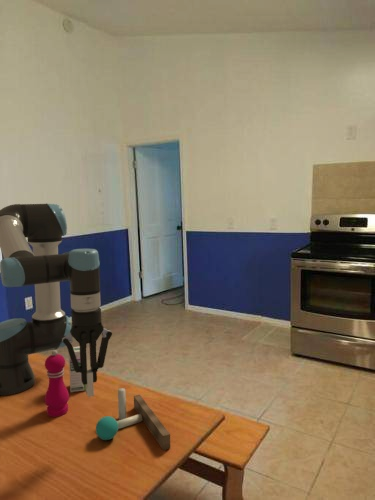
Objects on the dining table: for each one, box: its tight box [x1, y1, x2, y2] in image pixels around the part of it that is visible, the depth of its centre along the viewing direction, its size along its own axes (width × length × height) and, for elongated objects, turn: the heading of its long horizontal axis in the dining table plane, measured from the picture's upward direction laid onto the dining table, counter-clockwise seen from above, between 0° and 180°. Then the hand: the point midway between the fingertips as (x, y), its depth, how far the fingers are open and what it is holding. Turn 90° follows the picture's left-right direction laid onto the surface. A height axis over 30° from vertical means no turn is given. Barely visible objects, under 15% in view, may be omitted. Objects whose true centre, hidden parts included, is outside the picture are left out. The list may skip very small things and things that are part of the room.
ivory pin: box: [116, 413, 143, 430], centre depth 113 cm, size 2×2×9 cm
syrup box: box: [68, 345, 86, 393], centre depth 136 cm, size 6×6×14 cm
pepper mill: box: [44, 349, 70, 418], centre depth 120 cm, size 7×7×20 cm
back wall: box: [133, 394, 171, 451], centre depth 113 cm, size 24×2×4 cm, turn 26°
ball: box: [95, 415, 119, 441], centre depth 107 cm, size 6×6×6 cm
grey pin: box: [117, 387, 127, 421], centre depth 117 cm, size 2×2×9 cm
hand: (89, 394), depth 104 cm, fingers closed
